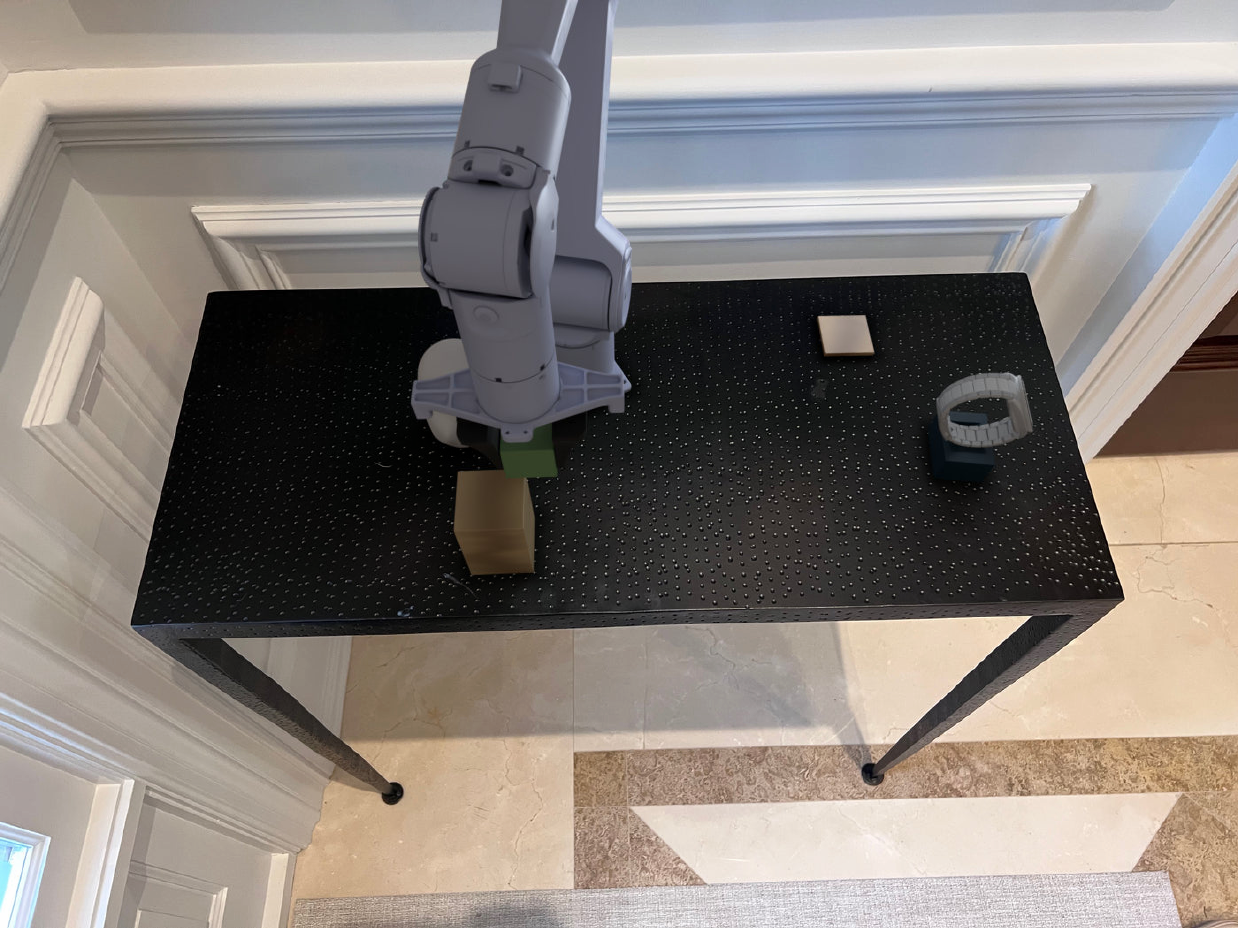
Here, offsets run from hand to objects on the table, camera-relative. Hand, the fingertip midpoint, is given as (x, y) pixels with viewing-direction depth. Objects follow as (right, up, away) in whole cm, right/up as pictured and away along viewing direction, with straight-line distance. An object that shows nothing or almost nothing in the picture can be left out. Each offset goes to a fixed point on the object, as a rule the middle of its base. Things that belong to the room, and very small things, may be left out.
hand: (531, 458), depth 62 cm
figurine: (-8, +3, +14) cm, 17 cm away
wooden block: (-3, -8, +7) cm, 11 cm away
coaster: (+30, +13, +20) cm, 38 cm away
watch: (+38, 0, +12) cm, 40 cm away
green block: (0, 0, +1) cm, 1 cm away
